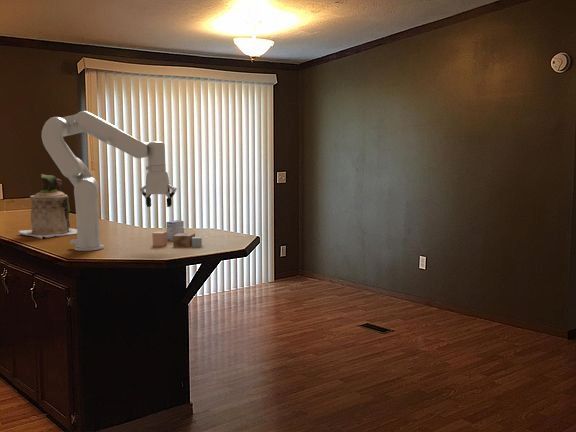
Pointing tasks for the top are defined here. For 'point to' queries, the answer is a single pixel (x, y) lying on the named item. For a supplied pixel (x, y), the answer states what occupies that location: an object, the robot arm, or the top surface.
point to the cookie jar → (49, 211)
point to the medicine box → (174, 228)
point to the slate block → (196, 241)
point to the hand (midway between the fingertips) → (159, 206)
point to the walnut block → (183, 239)
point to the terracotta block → (159, 238)
